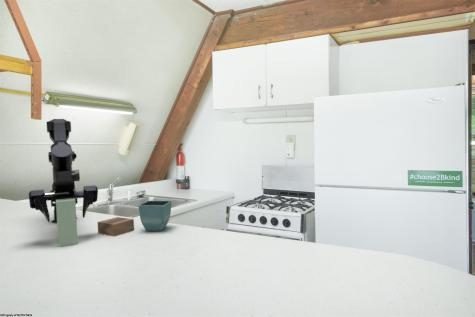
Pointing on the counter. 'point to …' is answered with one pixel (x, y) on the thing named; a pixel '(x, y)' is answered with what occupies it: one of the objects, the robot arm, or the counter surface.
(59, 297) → the counter surface
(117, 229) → the walnut block
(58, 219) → the sage pillar
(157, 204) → the flower pot
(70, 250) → the counter surface
